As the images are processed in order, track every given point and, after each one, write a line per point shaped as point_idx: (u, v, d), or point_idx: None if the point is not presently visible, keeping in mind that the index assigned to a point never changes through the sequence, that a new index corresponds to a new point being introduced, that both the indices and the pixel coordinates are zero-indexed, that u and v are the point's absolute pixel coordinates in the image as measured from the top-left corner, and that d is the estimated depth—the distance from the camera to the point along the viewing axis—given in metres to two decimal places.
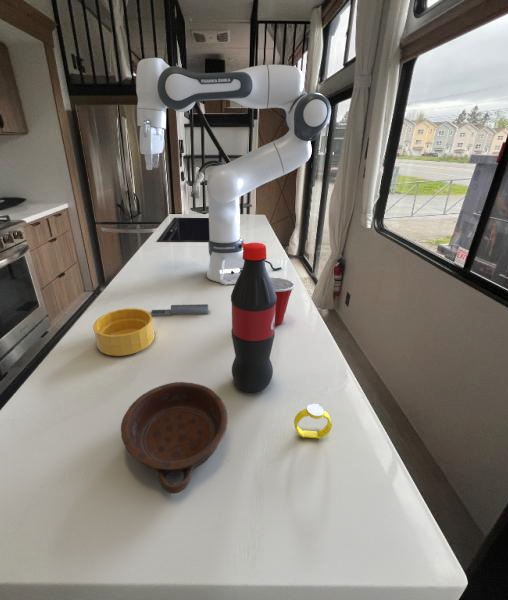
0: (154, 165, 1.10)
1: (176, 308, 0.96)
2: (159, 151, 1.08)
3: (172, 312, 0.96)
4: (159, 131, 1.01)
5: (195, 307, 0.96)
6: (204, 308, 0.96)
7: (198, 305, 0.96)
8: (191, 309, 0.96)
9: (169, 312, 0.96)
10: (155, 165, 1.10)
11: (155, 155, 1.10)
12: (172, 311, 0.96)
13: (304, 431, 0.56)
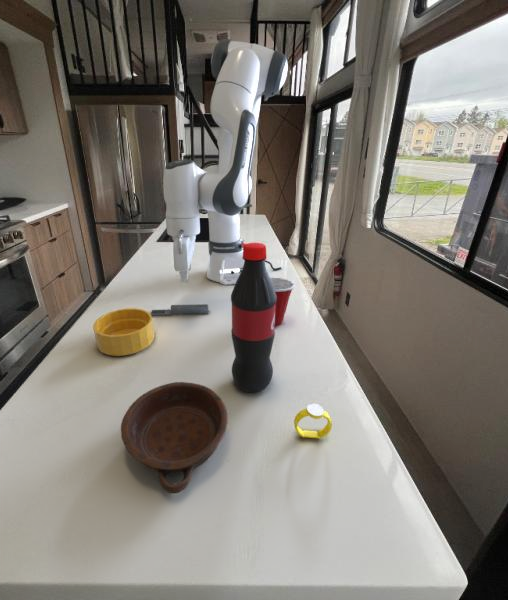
0: None
1: (176, 308, 0.96)
2: (192, 253, 0.92)
3: (172, 312, 0.96)
4: (193, 237, 0.85)
5: (195, 307, 0.96)
6: (204, 308, 0.96)
7: (198, 305, 0.96)
8: (191, 309, 0.96)
9: (169, 312, 0.96)
10: None
11: None
12: (172, 311, 0.96)
13: (304, 431, 0.56)
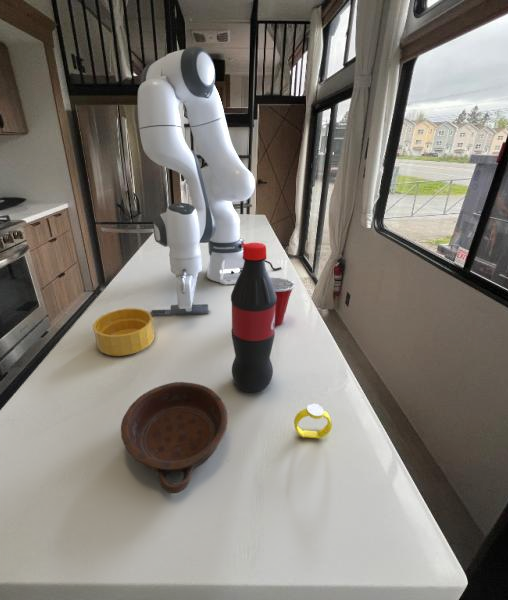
0: None
1: (176, 308, 0.96)
2: None
3: (172, 312, 0.96)
4: (195, 275, 0.90)
5: (195, 307, 0.96)
6: (204, 308, 0.96)
7: (198, 305, 0.96)
8: None
9: (169, 312, 0.96)
10: None
11: None
12: (172, 311, 0.96)
13: (304, 431, 0.56)
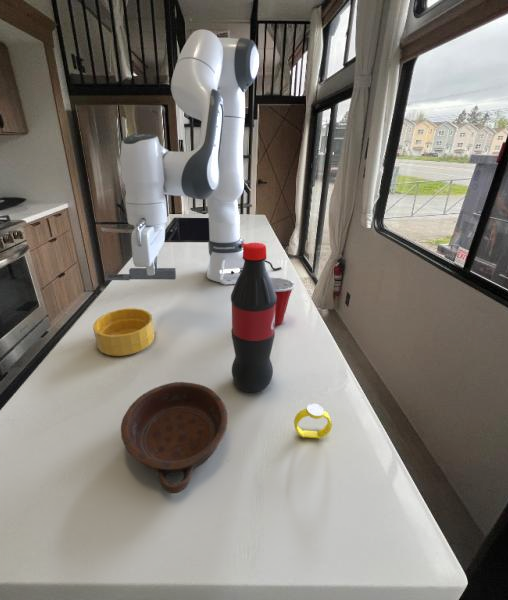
0: None
1: (136, 271, 0.78)
2: (160, 247, 0.79)
3: (131, 276, 0.78)
4: (158, 228, 0.73)
5: (159, 271, 0.78)
6: (170, 272, 0.78)
7: (163, 269, 0.78)
8: None
9: (127, 276, 0.79)
10: None
11: None
12: (131, 275, 0.78)
13: (304, 431, 0.56)
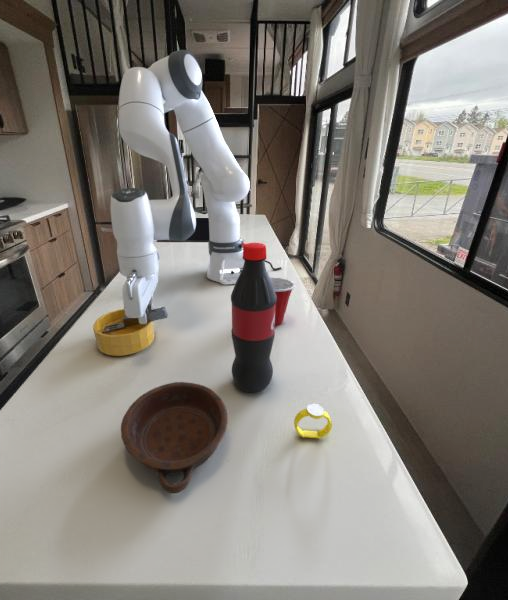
0: (147, 308, 0.82)
1: (128, 319, 0.80)
2: (153, 291, 0.81)
3: (125, 324, 0.81)
4: (150, 276, 0.74)
5: (150, 313, 0.79)
6: (160, 312, 0.79)
7: (153, 310, 0.80)
8: None
9: (122, 325, 0.81)
10: (148, 309, 0.83)
11: None
12: (125, 323, 0.81)
13: (304, 431, 0.56)
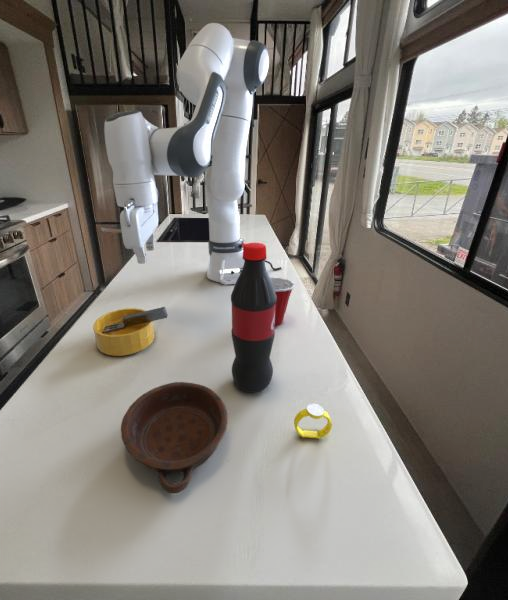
0: (149, 247, 0.80)
1: (128, 319, 0.80)
2: (153, 230, 0.78)
3: (125, 324, 0.81)
4: (149, 208, 0.71)
5: (150, 313, 0.79)
6: (160, 312, 0.79)
7: (153, 310, 0.80)
8: (146, 316, 0.80)
9: (122, 325, 0.81)
10: (150, 247, 0.80)
11: None
12: (125, 323, 0.81)
13: (304, 431, 0.56)
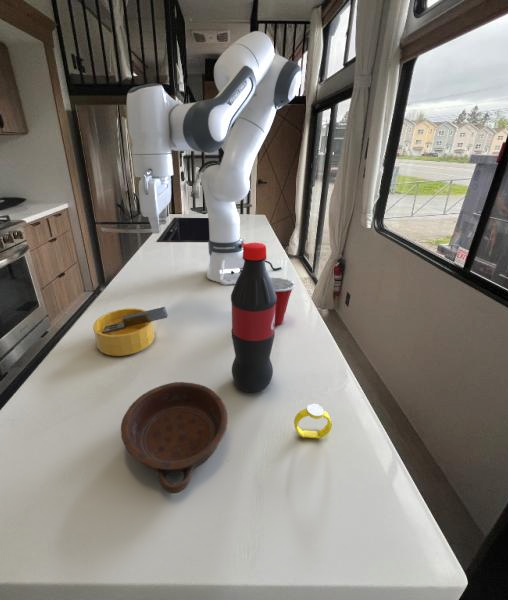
0: (162, 221, 0.83)
1: (128, 319, 0.80)
2: (167, 203, 0.81)
3: (125, 324, 0.81)
4: (165, 180, 0.74)
5: (150, 313, 0.79)
6: (160, 312, 0.79)
7: (153, 310, 0.80)
8: (146, 316, 0.80)
9: (122, 325, 0.81)
10: (162, 221, 0.83)
11: None
12: (125, 323, 0.81)
13: (304, 431, 0.56)
